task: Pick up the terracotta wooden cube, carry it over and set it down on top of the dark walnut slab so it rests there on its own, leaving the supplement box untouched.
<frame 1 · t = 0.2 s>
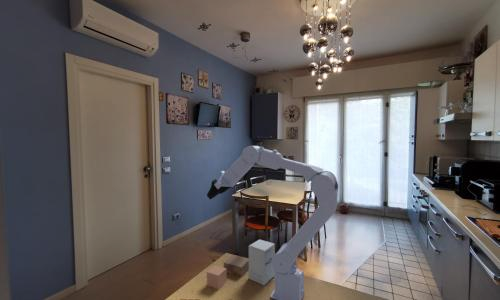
hand: (214, 194, 89), 31 cm above the countertop, tool tilted 45°, fingers open, 7 cm apart
walnut slab: (237, 270, 93), on the countertop
supplement box: (261, 278, 88), on the countertop
terracotta cube: (217, 283, 84), on the countertop
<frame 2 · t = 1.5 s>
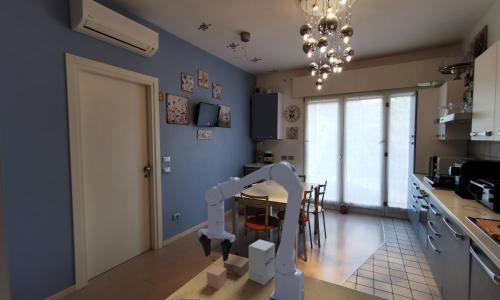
hand: (216, 257, 84), 9 cm above the countertop, tool pointing down, fingers open, 7 cm apart
nothing on the countertop moved.
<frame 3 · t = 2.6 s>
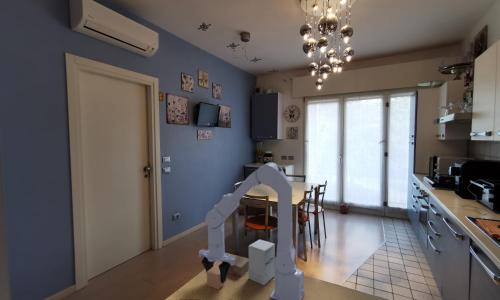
hand: (216, 279, 84), 1 cm above the countertop, tool pointing down, fingers closed on terracotta cube, 5 cm apart
terracotta cube: (216, 283, 84), on the countertop, touching gripper
everything else where it was.
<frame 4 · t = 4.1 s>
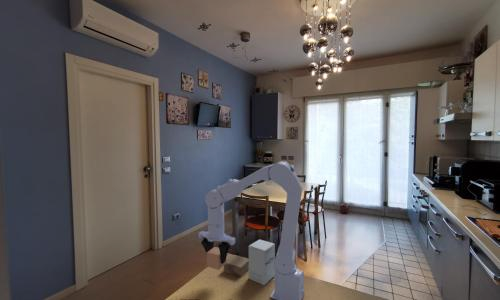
hand: (216, 260, 84), 8 cm above the countertop, tool pointing down, fingers closed on terracotta cube, 5 cm apart
terracotta cube: (216, 264, 84), point 7 cm above the countertop, touching gripper
everything else where it was.
when the fingers open (6 cm above the countertop, at t = 5.8 s): terracotta cube drops 1 cm, point 4 cm above the countertop.
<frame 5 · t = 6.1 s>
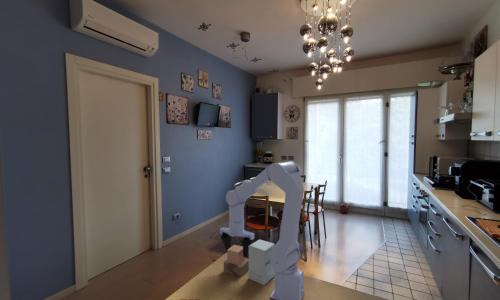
hand: (236, 253, 93), 6 cm above the countertop, tool pointing down, fingers open, 7 cm apart
terracotta cube: (236, 260, 93), point 4 cm above the countertop
everything else where it was.
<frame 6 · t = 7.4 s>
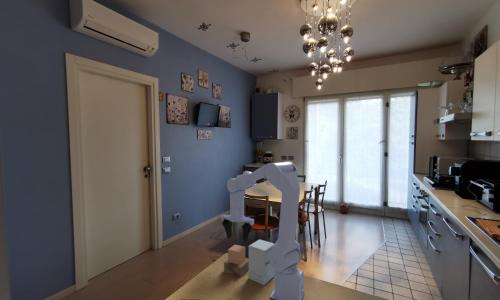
hand: (237, 239, 97), 10 cm above the countertop, tool pointing down, fingers open, 7 cm apart
walnut slab: (237, 270, 93), on the countertop, touching terracotta cube
terracotta cube: (236, 260, 93), point 4 cm above the countertop, touching walnut slab
everything else where it was.
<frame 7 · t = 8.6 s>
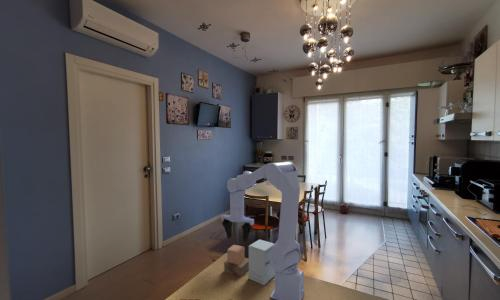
hand: (237, 239, 97), 10 cm above the countertop, tool pointing down, fingers open, 7 cm apart
nothing on the countertop moved.
at the end: terracotta cube 0.7 cm off-centre on the walnut slab, point 4.0 cm above the walnut slab's base; terracotta cube touching nothing; the gripper is holding nothing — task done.
